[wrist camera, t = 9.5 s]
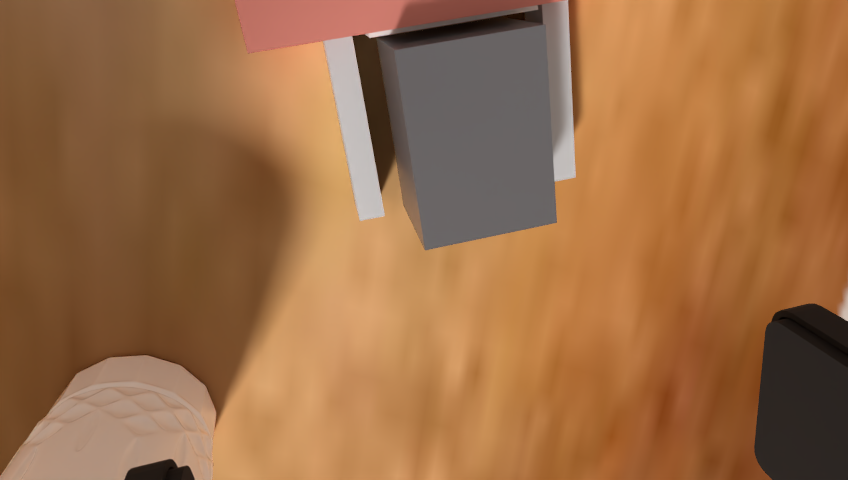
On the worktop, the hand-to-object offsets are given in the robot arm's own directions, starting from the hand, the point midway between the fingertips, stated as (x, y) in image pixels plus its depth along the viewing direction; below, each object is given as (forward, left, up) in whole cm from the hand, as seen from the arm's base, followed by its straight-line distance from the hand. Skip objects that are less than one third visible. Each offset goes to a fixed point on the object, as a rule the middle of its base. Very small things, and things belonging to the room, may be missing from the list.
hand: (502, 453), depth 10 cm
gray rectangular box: (+1, -3, -18) cm, 18 cm away
